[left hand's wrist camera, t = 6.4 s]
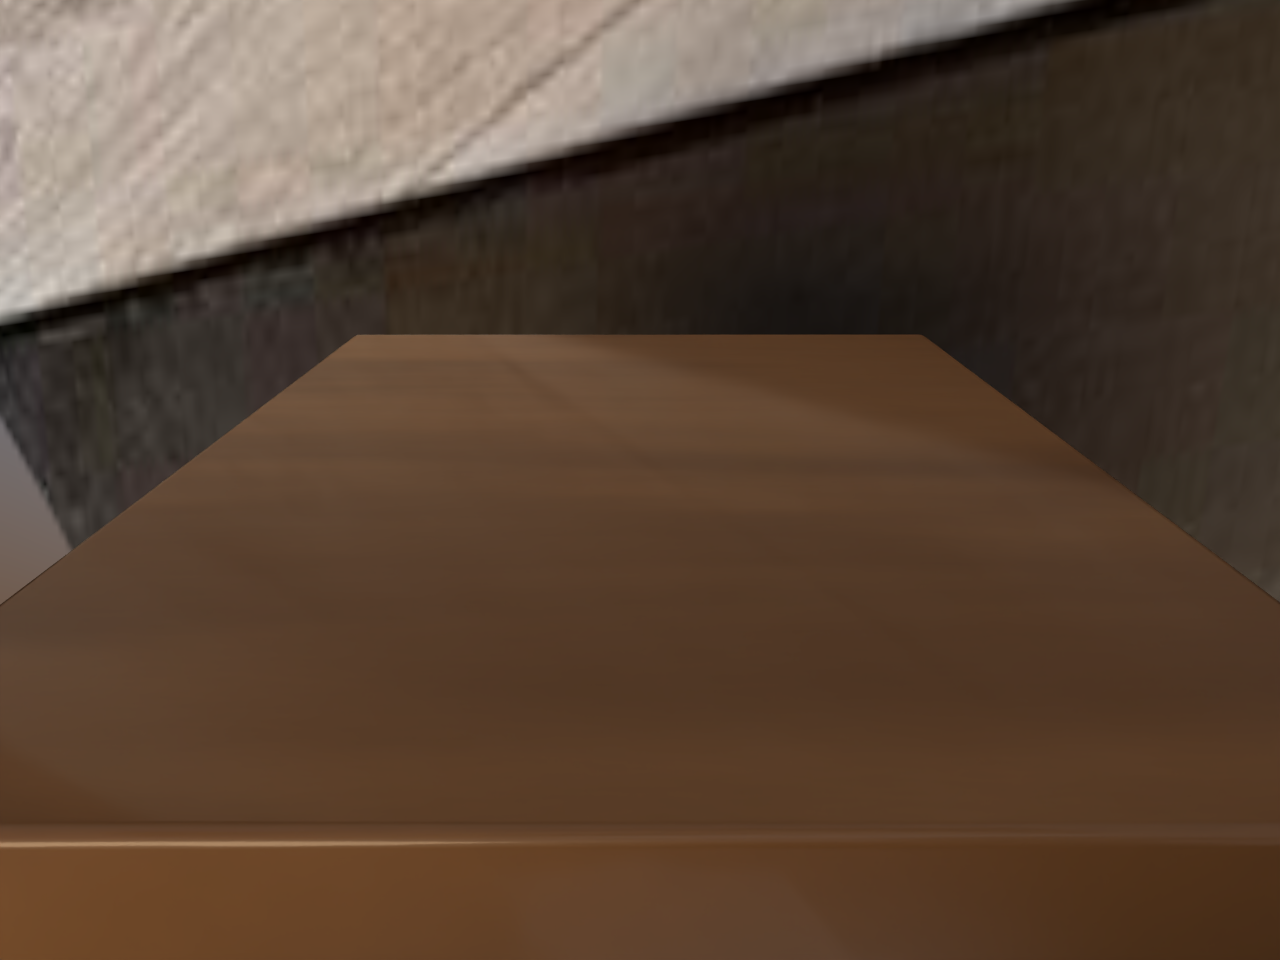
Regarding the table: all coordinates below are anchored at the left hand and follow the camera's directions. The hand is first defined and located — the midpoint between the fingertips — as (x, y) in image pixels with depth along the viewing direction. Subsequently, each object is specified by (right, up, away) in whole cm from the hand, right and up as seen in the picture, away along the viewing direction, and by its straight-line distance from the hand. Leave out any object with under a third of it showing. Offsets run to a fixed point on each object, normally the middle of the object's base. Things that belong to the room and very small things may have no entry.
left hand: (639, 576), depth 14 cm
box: (0, -6, +4) cm, 7 cm away
